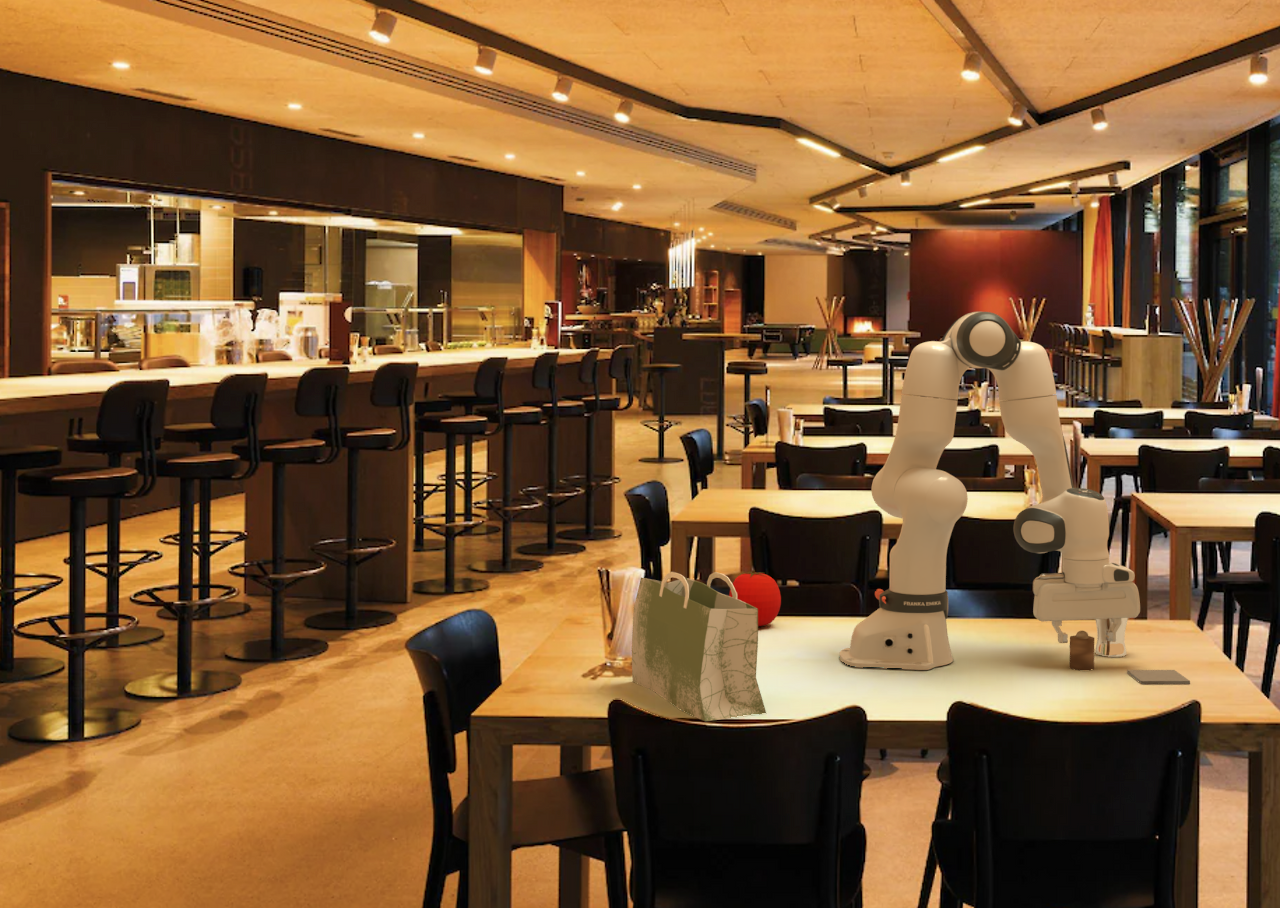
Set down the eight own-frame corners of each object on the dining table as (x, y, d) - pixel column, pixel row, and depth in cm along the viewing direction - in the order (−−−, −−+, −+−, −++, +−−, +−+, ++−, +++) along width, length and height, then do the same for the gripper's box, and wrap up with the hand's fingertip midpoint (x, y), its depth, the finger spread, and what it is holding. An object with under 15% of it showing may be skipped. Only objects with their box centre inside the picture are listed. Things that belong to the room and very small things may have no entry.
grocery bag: (773, 713, 264) (773, 582, 262) (701, 722, 258) (700, 588, 256) (694, 674, 293) (693, 556, 291) (628, 682, 287) (627, 561, 285)
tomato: (746, 619, 346) (746, 564, 345) (790, 624, 339) (790, 569, 338) (717, 628, 336) (716, 572, 335) (762, 634, 329) (762, 577, 328)
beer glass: (1130, 658, 303) (1132, 584, 302) (1094, 657, 304) (1095, 583, 303) (1126, 651, 310) (1127, 578, 308) (1091, 649, 311) (1092, 577, 310)
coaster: (1141, 684, 282) (1141, 681, 282) (1127, 673, 291) (1127, 669, 291) (1189, 684, 281) (1190, 680, 281) (1174, 672, 290) (1174, 669, 290)
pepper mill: (1072, 670, 293) (1073, 633, 292) (1066, 665, 298) (1067, 628, 297) (1096, 670, 293) (1097, 633, 292) (1090, 665, 298) (1090, 628, 297)
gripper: (1037, 576, 291) (1038, 647, 292) (1142, 572, 291) (1143, 642, 293) (1028, 571, 297) (1029, 640, 299) (1131, 566, 298) (1132, 635, 299)
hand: (1086, 641), depth 296 cm, fingers open, 8 cm apart
